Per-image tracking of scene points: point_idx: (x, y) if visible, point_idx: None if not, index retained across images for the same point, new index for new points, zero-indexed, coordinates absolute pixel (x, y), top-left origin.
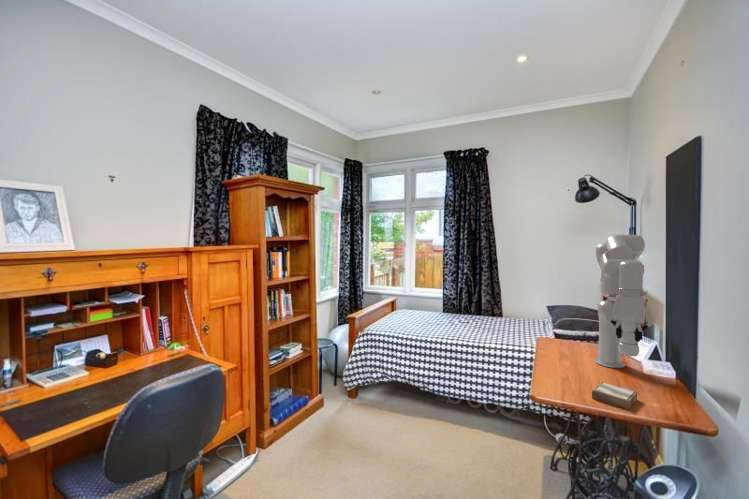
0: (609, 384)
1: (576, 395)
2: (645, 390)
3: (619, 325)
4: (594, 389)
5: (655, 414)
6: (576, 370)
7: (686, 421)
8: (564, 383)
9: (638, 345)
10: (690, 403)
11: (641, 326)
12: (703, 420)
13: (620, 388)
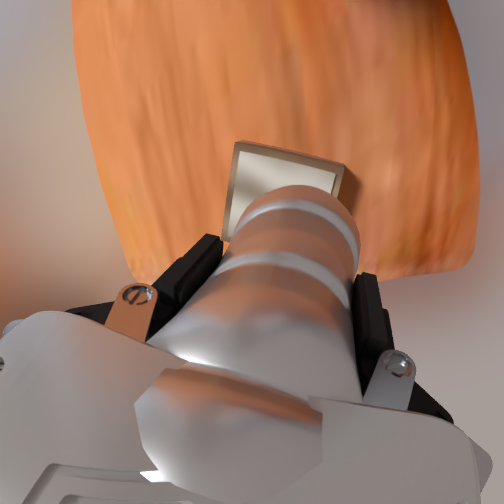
0: (258, 155)
1: (194, 234)
2: (367, 62)
3: (153, 335)
4: (224, 226)
5: (379, 248)
6: (155, 29)
7: (438, 250)
8: (150, 166)
9: (355, 273)
10: (473, 112)
11: (390, 404)
12: (475, 222)
13: (293, 173)
